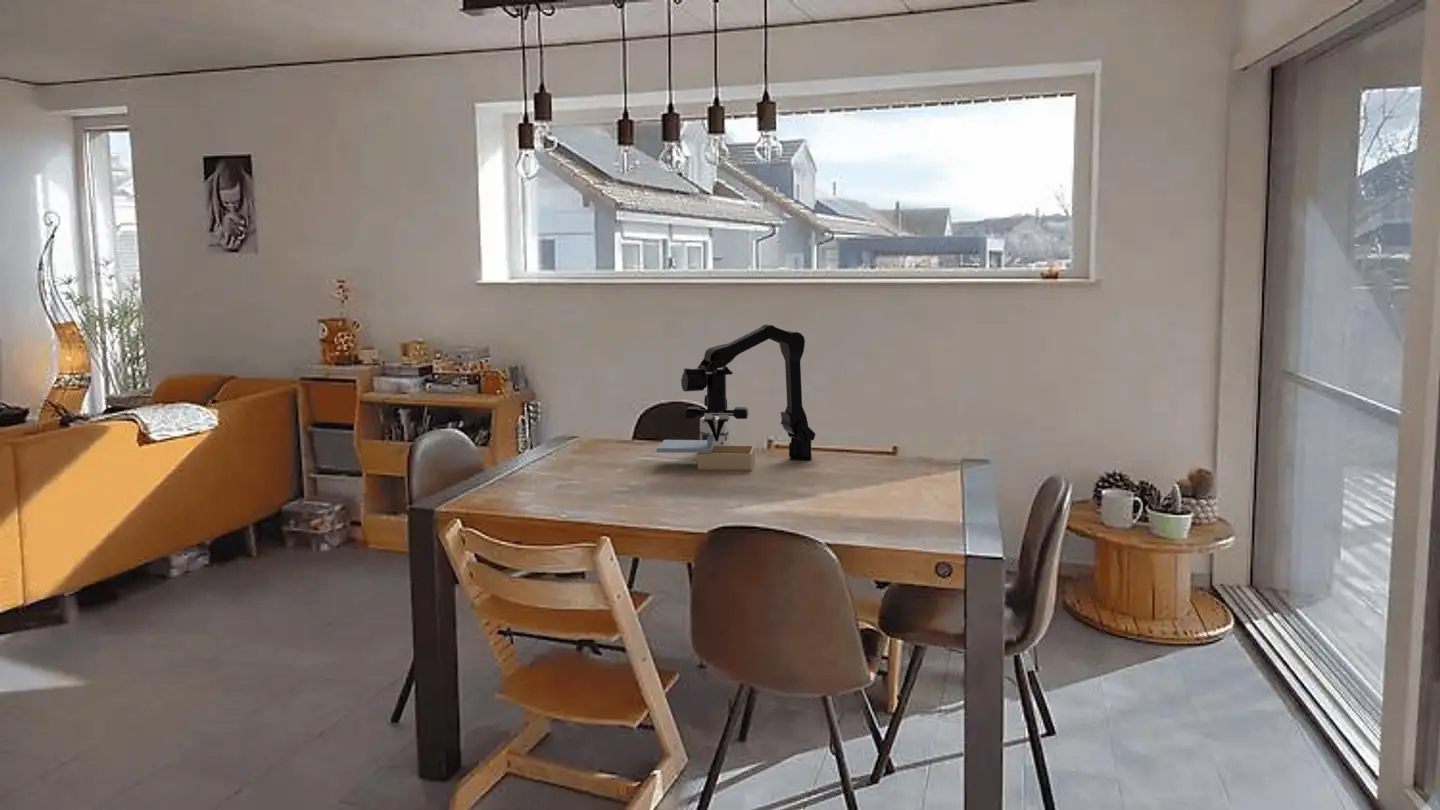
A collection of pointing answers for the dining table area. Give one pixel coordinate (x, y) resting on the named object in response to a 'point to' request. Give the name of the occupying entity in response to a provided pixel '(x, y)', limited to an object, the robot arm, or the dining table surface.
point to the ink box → (724, 434)
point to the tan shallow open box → (728, 458)
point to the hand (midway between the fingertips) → (716, 441)
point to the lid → (688, 445)
